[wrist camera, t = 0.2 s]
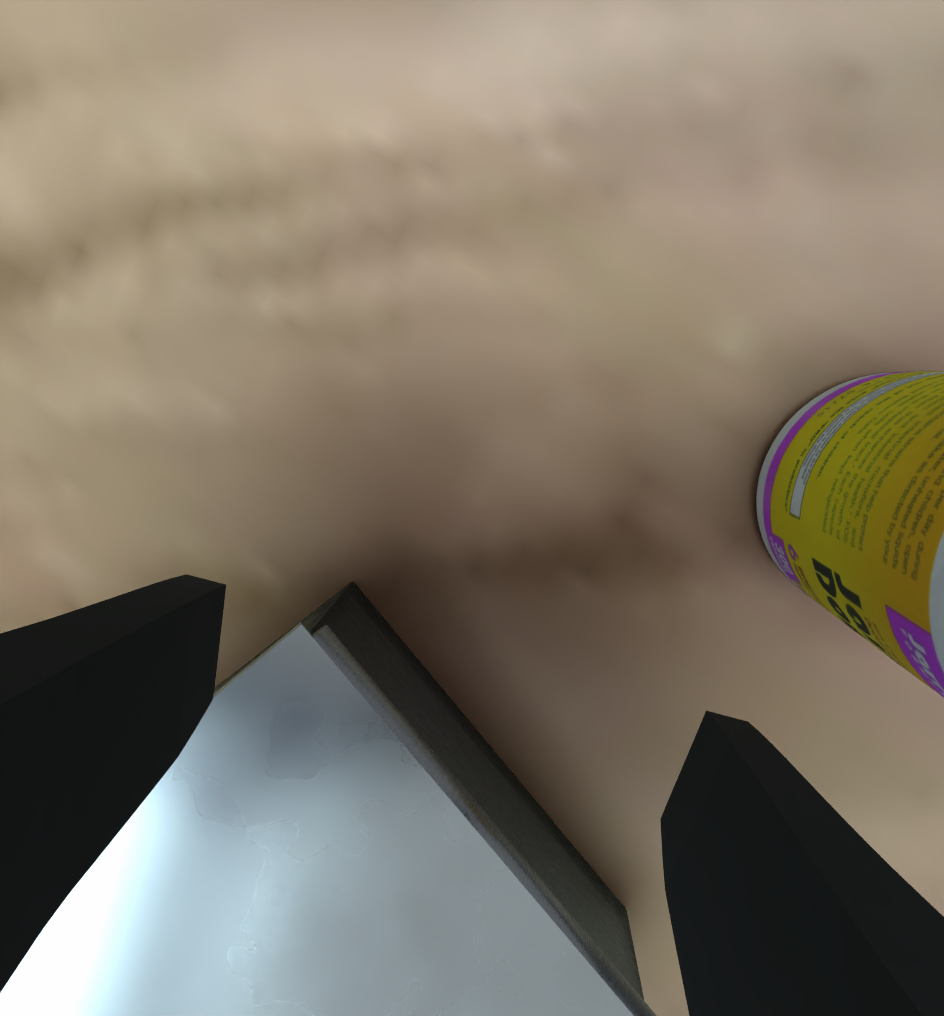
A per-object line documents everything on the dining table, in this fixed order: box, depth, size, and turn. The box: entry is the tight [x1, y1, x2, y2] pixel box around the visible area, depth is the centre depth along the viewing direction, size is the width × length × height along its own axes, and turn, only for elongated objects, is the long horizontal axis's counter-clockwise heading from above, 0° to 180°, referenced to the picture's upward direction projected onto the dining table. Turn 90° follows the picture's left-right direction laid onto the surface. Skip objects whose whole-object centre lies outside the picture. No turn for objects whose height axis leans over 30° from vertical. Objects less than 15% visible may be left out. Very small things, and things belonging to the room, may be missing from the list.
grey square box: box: [214, 582, 644, 1000], centre depth 20 cm, size 13×14×5 cm
